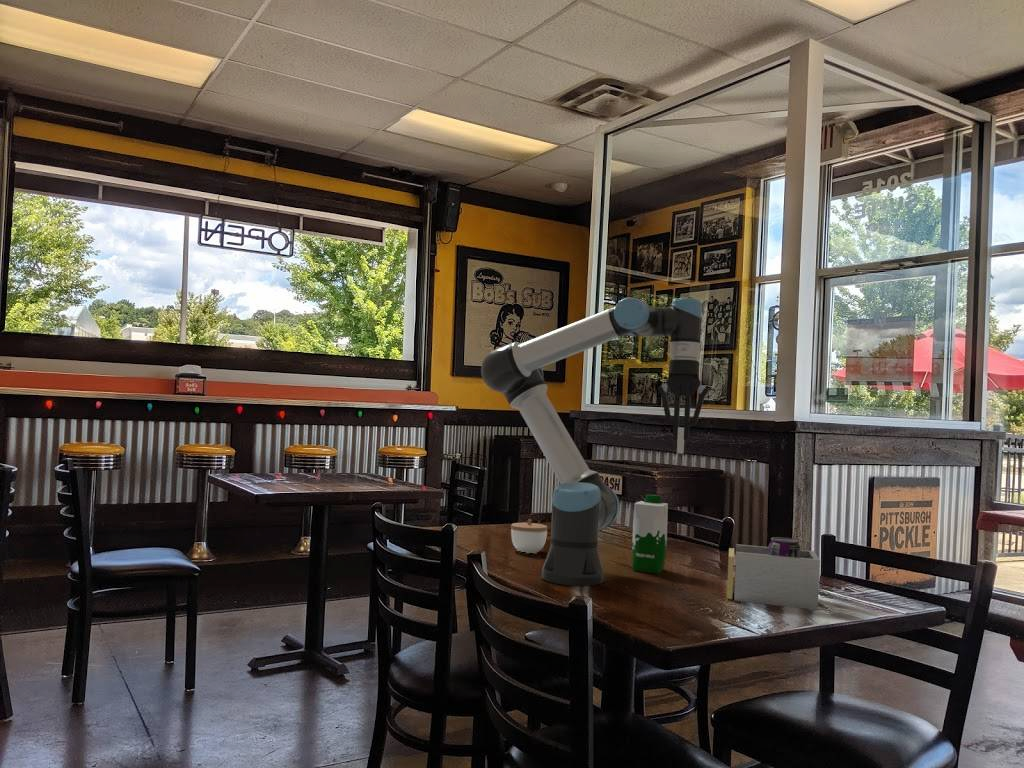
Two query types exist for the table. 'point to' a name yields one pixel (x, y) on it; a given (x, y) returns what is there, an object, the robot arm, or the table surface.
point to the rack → (730, 574)
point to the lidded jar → (528, 536)
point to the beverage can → (784, 547)
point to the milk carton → (649, 534)
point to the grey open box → (776, 578)
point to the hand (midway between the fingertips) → (680, 453)
